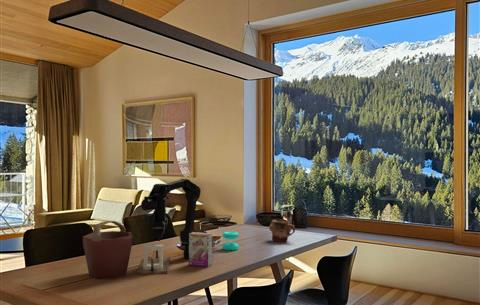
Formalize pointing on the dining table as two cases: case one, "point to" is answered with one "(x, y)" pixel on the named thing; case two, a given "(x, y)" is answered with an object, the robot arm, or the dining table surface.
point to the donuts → (230, 245)
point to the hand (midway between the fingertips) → (159, 239)
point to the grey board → (156, 261)
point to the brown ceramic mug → (281, 230)
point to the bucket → (107, 251)
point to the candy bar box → (200, 249)
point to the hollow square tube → (160, 248)
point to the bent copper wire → (153, 259)
